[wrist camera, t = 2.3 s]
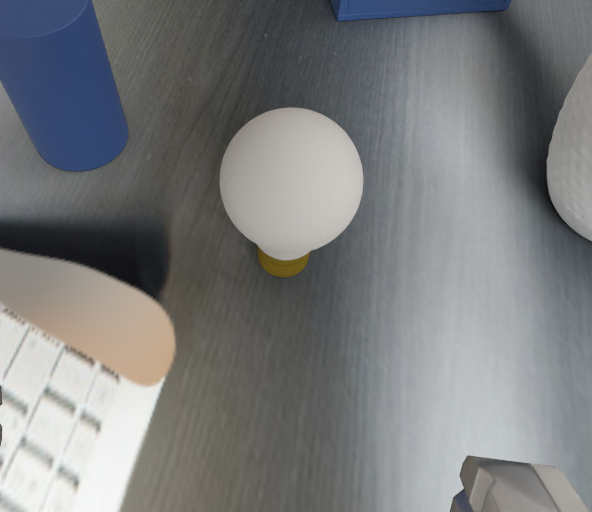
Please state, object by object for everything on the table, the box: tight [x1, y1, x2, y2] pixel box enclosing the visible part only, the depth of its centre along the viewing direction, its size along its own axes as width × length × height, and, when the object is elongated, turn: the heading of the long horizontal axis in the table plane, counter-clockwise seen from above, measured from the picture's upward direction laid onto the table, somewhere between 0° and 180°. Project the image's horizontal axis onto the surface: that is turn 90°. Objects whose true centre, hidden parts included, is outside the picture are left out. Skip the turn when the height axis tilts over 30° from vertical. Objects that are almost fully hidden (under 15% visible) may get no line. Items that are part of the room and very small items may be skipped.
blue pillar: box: [0, 0, 128, 171], centre depth 27 cm, size 5×5×9 cm
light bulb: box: [220, 108, 363, 277], centre depth 24 cm, size 6×6×10 cm
